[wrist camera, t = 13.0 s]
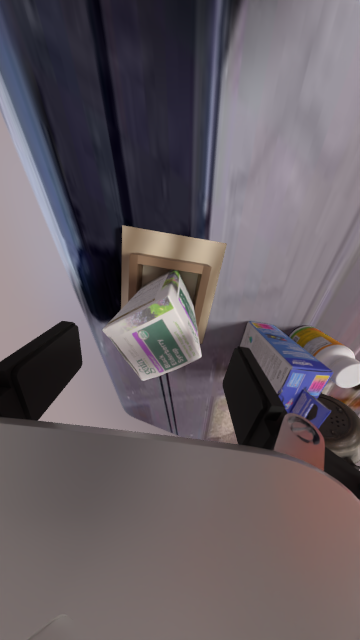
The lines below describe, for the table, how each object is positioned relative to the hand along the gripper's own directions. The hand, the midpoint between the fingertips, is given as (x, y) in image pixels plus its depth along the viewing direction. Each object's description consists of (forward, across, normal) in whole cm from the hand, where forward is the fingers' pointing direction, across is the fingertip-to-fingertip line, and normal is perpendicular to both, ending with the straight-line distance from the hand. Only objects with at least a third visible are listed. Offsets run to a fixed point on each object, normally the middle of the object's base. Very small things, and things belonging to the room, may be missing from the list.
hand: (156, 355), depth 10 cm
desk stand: (+18, +1, +1) cm, 18 cm away
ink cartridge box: (+18, -16, +9) cm, 26 cm away
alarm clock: (+18, -29, +19) cm, 40 cm away
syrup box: (+17, +1, +1) cm, 17 cm away
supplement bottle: (+18, -24, +6) cm, 31 cm away
